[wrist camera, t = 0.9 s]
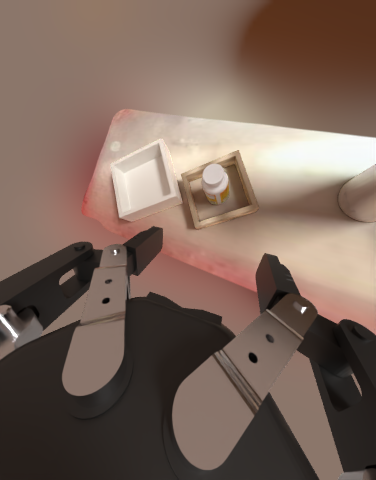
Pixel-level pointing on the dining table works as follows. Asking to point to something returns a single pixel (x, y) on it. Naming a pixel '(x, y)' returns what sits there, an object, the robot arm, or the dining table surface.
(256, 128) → the dining table surface
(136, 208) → the bin
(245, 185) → the frame
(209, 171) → the supplement bottle
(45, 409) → the robot arm
